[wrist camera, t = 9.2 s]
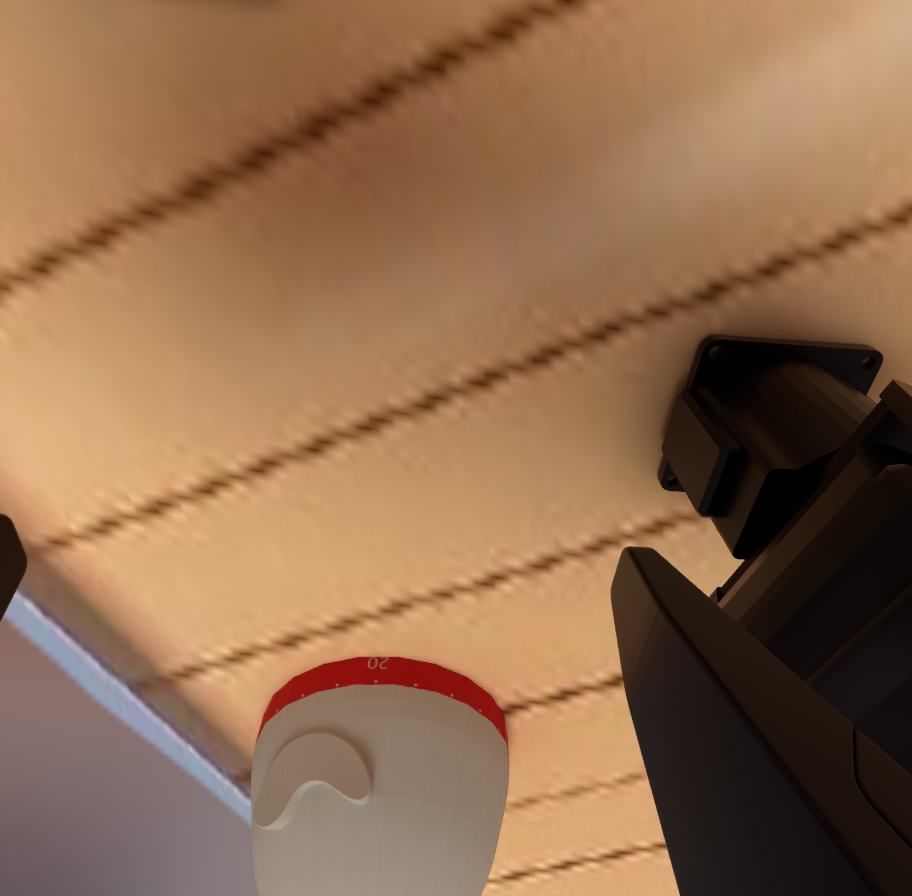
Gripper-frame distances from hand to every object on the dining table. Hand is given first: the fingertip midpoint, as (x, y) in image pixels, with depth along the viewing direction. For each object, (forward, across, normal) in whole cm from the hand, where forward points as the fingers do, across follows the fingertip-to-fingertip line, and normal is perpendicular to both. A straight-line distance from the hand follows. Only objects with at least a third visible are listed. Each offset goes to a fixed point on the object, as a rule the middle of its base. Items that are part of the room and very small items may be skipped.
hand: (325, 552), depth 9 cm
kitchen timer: (+13, 0, +26) cm, 29 cm away
